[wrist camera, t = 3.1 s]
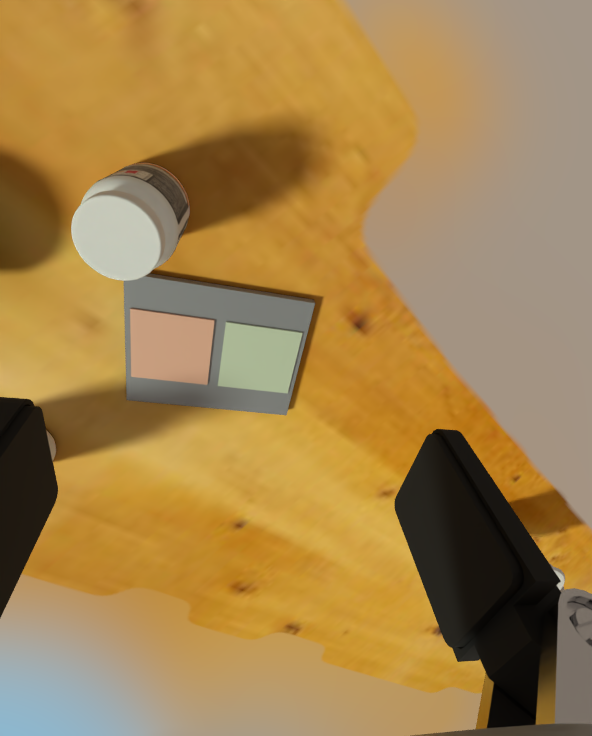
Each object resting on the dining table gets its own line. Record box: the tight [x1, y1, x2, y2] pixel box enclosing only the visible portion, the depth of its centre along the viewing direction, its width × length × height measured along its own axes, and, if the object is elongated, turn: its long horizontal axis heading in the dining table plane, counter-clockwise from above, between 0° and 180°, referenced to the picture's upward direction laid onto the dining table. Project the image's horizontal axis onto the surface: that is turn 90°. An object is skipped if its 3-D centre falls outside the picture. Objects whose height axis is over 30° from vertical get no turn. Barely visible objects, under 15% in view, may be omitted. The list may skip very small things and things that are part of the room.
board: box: [124, 273, 315, 415], centre depth 36 cm, size 13×16×1 cm
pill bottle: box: [71, 163, 190, 281], centre depth 25 cm, size 6×6×10 cm
